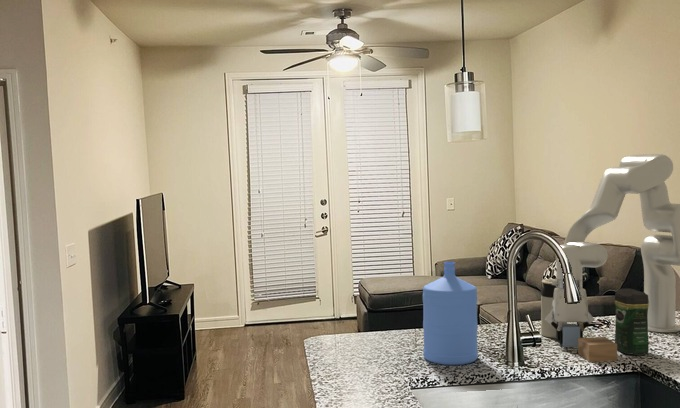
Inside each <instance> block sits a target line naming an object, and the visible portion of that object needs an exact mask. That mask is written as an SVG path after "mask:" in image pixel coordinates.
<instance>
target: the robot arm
mask: <svg viewBox="0 0 680 408" xmlns="http://www.w3.org/2000/svg"><path fill="white" fill-rule="evenodd" d="M618 165H619V166H613V167H609V168H607V169H606V170H604V172H603V174H602V176H601V178H600V181H599V183H598V185H597V189H596V191H595V194H594V197H593V198H592V202H591V204H590V207H589V209H588V210H586V211H585V212H584V213H583V214H582V215H581V216H580V217H578V219H577V220H576V221H575V222H574V223H573V224H572V225H571V226H570V228H569V229H568V232H567V234H566V237H565V239H564V242H563V244H559V245H560V246H561V247H562V249H563V250H564V252H565V253H566V255H567V257H568V259H569V262H570V264H571V267H572V273H573V276H574V278H575V280H576V283H577V285H578V287H579V290H580V292H581V295H582V301H581V302H580V303H577V304H567V303H565V298H564V289H563V273H562V268H561V265H560V262H559V260H558V258H557V257H556V278H555V279H556V281H552V285H555V286H556V287H557V288H555V289H554V294H553V301H552V310H551V312H550V313H549V314H548V315H547V316H546V318H545V320H546V321H547V322H548V323H550V324H551V325H552V326H553V327H554V328H555V329H556V338H555V339H556V341H557V342H558V343H559V344H560V345H561V344H562V343H563V332H562V329H561V328H562V325H563V322H567V323H576V324H577V325H578V326H579V327H580V338H584V331H585V329H586V328H587V327H588V326H589V325H590V324H591V323H593V322H594V321H595V317H593V315H592V314H591V313H590V312H589V307H588V306H589V303H588V299H587V298H588V296H587V291H586V289H585V288H583V268H600V267H602V266H604V264H605V263H606V262H607V260H608V258H609V254H608V253H609V252H608V250H607V248H606V247H605V246H603V245H601V244H599V243H597V242H587V241H586V239H587V237H588V236H589V235H590V234H591V233H592V232H593V231H594V230H596V229H598V228H599V227H602V226H604V225H607V224H608V223H609V224H610V223H611V222H613V221H615V220H616V219H617V217H618V216H619V212H620V211H621V210H620V209H622V204H623V201H624V200H625V198H626V195H627V194H630V195H631V194H634V195H637V194H639V199H640V207H641V216H642V223H643V226H644V227H645V229H647V230H649V231H653V232H660V233H661V232H662V233H669V235H668V234H651V235H648V236H646V237H645V238H643V240H642V242H641V245H640V253H641V257H642V258H641V259H642V264H643V280H644V281H643V292H644V293H645V294H647V295H648V299H649V307H648V332H654V333H677V332H679V331H680V325H679V324H677V323H676V302H677V301H676V299H677V298H676V297H677V296H676V294H677V293H676V291H677V290H676V282H677V280H676V274H675V271H674V268H673V267H672V266H677V267H678V266H679V267H680V203H671V202H670V197H669V191H668V186H667V183H666V182H665V181H667V180H668V179H669V178H670V177H671V175H672V174H673V171H674V163H673V160H672V159H671V157H670V156H668V155H666V154H662V153H661V154H659V153H656V154H654V153H653V154H632V155H627V156H624V157H623V158H622V159H620V161H619V164H618ZM552 317H553V318H554V319H555V320H556V323H555V322H554V321H552Z"/></svg>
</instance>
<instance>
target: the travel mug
mask: <svg viewBox="0 0 680 408" xmlns="http://www.w3.org/2000/svg"><path fill="white" fill-rule="evenodd" d="M552 281H556V278H546V279H545V278H544V279H542V280H541V283H542V288H541V290H540V311H541V312H540V328H541V329H540V330H541V331H540V334H541V336H543V337H545V338H549V339H556V329H555V328H554V327H553V326H552V325H551V324H550V323H548V322H547V321H546V320H545V318H546V316H547V315H548V314H549V313H550V312H551V310H552V301H553V294H554V289H555V288H557V287H556V286H555V285H552ZM552 321H554V322H555V323H556V320H555V319H554V318H553V317H552ZM563 323H568V322H563Z"/></svg>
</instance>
